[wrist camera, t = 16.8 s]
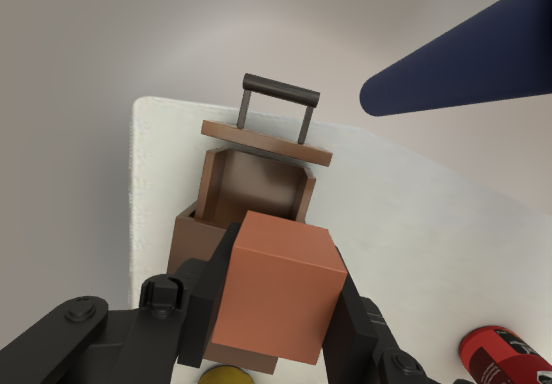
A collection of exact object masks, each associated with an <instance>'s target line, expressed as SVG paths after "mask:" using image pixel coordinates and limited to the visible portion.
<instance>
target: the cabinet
mask: <svg viewBox="0 0 552 384" xmlns="http://www.w3.org/2000/svg"><path fill="white" fill-rule="evenodd" d="M196 205H197V201H196V202H194V203H193V204H192V205H191V206H189V207H188V208H187V209H186V210H184V211H183V212H182V213H181V214H180V215H178V216H177V217H176V220H175V226H174V232H173V238H172V244H171V250H170V256H169V262H168V268H167V274H172V275H173V274H174V272H175V271H176V270H177V268H178V267H179V266H180V265H181V263H182V262H183V261H185V260H187V259H189V258H191V257H192V258H196V259H201V260H205V261H209V260H210V258H211V257H212V255H213V253H214V251H215V250H216V248H217V246H218V244H219V242H220V241H221V239H222V237H223V235H224V233H225V232H226V230H227V228H228V227H227V226H223V225H219V224H215V223H211V222H207V221H203V220H199V219H195V218H194V216H195V211H196ZM303 224H306V223H305V219H304V222H303ZM215 323H216V322H215ZM214 328H215V325H214ZM214 328H213V331H212V334H211V336H210V339H209V342H208V345H207V348H206V351H205V353H204V356H203V359H206V360H211V361H215V362H219V363H224V364H228V365H232V366H237V367H241V368H245V369H249V370H254V371H258V372H262V373H267V374H271V375H273V373H274V370H275V367H276V363H277V360H278V357H275V356H271V355H266V354H262V353H257V352H253V351H248V350H244V349H239V348H235V347H230V346H226V345H221V344H217V343H212V336H213V332H214Z"/></svg>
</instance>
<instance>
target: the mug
mask: <svg viewBox="0 0 552 384" xmlns="http://www.w3.org/2000/svg"><path fill="white" fill-rule="evenodd" d="M198 384H254V382H253V380H252V379H251V377H250V376H249V375H248V374H246V373H244V372H242V371H241V370H240V369H238V368H235V367H232V366H220V367H216V368H214V369H212V370H210V371H208V372H207V373H205V374H204V375H203V376H202V377H201V379H200V380H199V382H198Z"/></svg>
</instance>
